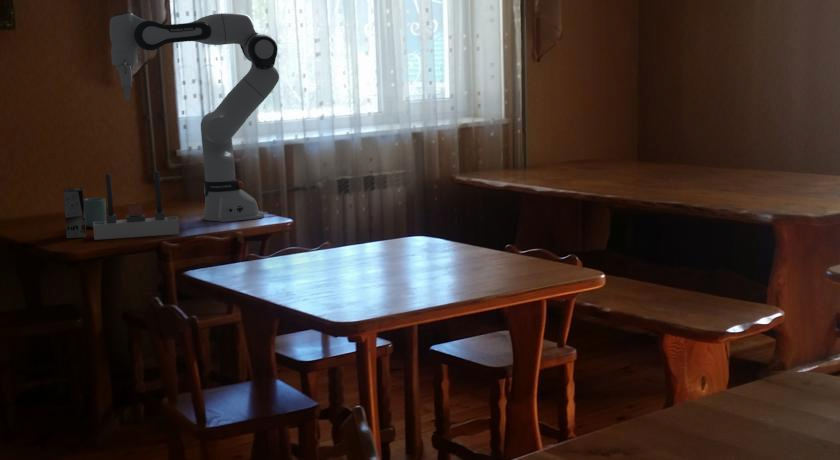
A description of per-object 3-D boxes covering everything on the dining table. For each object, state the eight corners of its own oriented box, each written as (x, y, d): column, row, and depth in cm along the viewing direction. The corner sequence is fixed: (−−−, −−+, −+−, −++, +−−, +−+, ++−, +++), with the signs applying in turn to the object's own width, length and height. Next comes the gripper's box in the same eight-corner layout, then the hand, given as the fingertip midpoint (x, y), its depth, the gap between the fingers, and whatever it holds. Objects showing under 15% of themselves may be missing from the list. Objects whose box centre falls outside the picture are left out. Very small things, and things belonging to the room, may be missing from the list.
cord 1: (116, 221, 360) (112, 173, 357) (116, 222, 357) (112, 174, 354) (107, 221, 360) (103, 173, 357) (107, 223, 356) (103, 175, 353)
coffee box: (86, 237, 359) (82, 190, 356) (66, 238, 357) (62, 191, 354) (86, 232, 368) (83, 186, 365) (67, 234, 366) (63, 188, 363)
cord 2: (164, 217, 365) (161, 170, 362) (164, 219, 361) (161, 172, 358) (155, 218, 364) (152, 171, 361) (155, 220, 360) (152, 172, 357)
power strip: (178, 230, 368) (177, 211, 367) (179, 233, 361) (178, 214, 360) (94, 236, 361) (93, 217, 360) (94, 239, 354) (92, 220, 353)
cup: (103, 228, 375) (101, 200, 374) (81, 228, 376) (79, 201, 374) (110, 224, 383) (108, 197, 381) (88, 224, 383) (86, 197, 381)
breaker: (142, 215, 361) (141, 205, 361) (142, 214, 360) (141, 205, 360) (129, 215, 360) (128, 206, 360) (129, 215, 359) (128, 205, 359)
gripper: (134, 59, 362) (137, 100, 364) (133, 58, 381) (136, 97, 384) (115, 60, 360) (118, 101, 363) (115, 59, 379) (118, 97, 382)
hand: (127, 99), depth 373 cm, fingers open, 8 cm apart
